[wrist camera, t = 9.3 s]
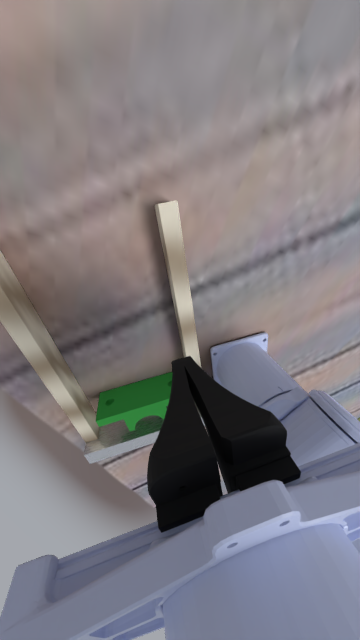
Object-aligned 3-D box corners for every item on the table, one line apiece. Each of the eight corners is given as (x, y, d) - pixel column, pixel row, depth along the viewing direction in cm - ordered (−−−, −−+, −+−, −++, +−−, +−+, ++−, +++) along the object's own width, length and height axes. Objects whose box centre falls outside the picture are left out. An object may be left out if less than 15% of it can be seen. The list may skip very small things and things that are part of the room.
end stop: (202, 399, 30) (211, 423, 27) (94, 433, 28) (90, 463, 25) (200, 390, 29) (210, 414, 26) (89, 424, 27) (83, 455, 24)
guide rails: (200, 390, 29) (206, 404, 27) (89, 424, 27) (85, 442, 25) (171, 202, 17) (177, 200, 15) (-30, 238, 15) (-55, 242, 13)
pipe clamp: (109, 408, 27) (105, 439, 23) (100, 391, 25) (94, 421, 22) (183, 386, 28) (191, 413, 25) (179, 368, 27) (187, 393, 23)
